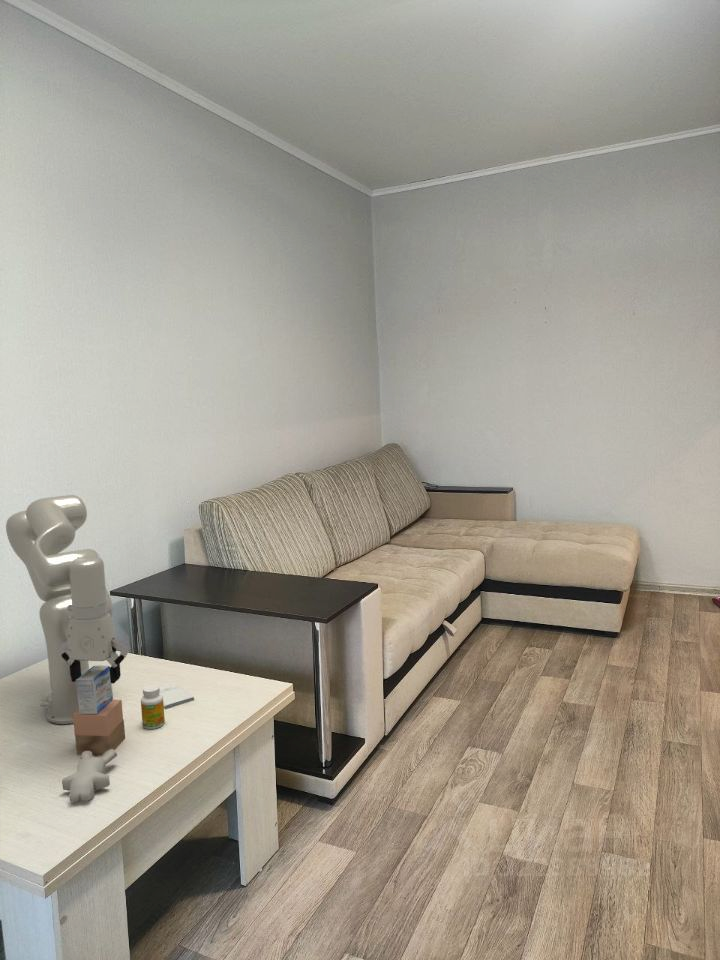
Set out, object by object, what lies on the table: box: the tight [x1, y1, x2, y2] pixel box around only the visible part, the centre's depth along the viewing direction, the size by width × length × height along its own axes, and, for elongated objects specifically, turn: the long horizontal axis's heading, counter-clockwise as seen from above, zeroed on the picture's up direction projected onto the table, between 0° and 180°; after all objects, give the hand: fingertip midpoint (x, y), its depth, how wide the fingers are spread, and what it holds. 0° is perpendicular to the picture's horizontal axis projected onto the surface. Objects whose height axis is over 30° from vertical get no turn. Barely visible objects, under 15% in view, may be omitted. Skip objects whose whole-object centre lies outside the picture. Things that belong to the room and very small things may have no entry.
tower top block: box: [72, 698, 124, 736], centre depth 163 cm, size 8×8×5 cm
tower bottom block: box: [74, 718, 126, 757], centre depth 164 cm, size 8×8×5 cm
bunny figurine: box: [61, 749, 118, 803], centre depth 149 cm, size 10×5×15 cm
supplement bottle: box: [140, 684, 166, 730], centre depth 173 cm, size 5×5×10 cm
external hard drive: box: [159, 681, 195, 710], centre depth 189 cm, size 2×8×12 cm
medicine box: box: [76, 664, 114, 714], centre depth 162 cm, size 8×4×9 cm, turn 172°
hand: (95, 680), depth 162 cm, fingers open, 9 cm apart
